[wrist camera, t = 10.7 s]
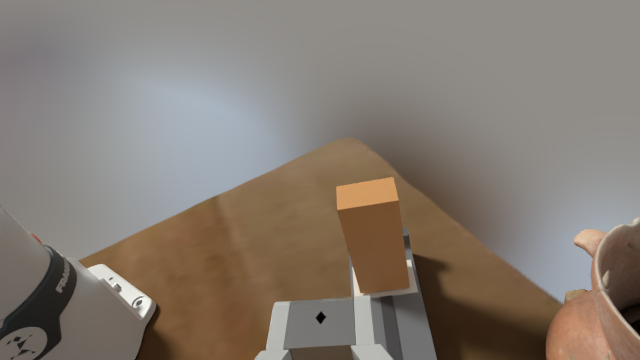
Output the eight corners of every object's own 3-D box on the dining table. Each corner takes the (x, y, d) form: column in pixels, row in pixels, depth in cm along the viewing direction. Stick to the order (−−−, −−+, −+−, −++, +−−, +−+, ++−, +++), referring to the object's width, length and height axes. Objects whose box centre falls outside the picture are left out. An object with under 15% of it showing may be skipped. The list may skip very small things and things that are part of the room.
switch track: (456, 454, 28) (456, 434, 25) (366, 458, 29) (357, 440, 26) (409, 252, 44) (406, 227, 41) (352, 260, 45) (346, 236, 42)
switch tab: (409, 287, 36) (398, 200, 29) (360, 293, 37) (337, 209, 30) (404, 263, 39) (393, 177, 31) (358, 269, 39) (336, 186, 32)
